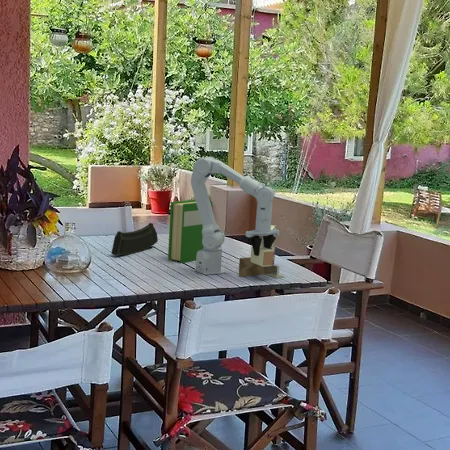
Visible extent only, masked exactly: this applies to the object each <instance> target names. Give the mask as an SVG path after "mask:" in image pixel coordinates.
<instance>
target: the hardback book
mask: <svg viewBox="0 0 450 450" xmlns="http://www.w3.org/2000/svg"><path fill="white" fill-rule="evenodd" d="M210 203H211V207H212V208H213V201H212V200H210ZM169 211H170V213H169V228H168V229H169V231H168V232H169V233H168V234H169V235H168V253H167V261H169V262H170V261H179V263H180V264H185V263H190V262H196V255H197V252H198V251H200V250H203V248H204V246H203V244H202V239H203V235H202V229H203V225H202V222H201V218H200V215H199V211H198V207H197V204H196V200H195V199H191V200H189V199H187V200H179V201H170V209H169Z"/></svg>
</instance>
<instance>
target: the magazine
mask: <svg viewBox="0 0 450 450" xmlns="http://www.w3.org/2000/svg"><path fill="white" fill-rule="evenodd" d="M158 240H159V239H158V233H157V230H156V228H155V225H154V223H152V222H149V223H148V225H146V226H144V227H142V228H140V229H137V230H134V231H127V232H122V231H119V230H118V231H117V232H116V234H115V236H114V239H113V244H112V249H111V255H114V256H119V255H120V256H121V255H124V256H125V255H133V254H137V253H141V252H143V251H145V250H147V249H152V246H154V245H155V244H156V243H158Z"/></svg>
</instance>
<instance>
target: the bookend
mask: <svg viewBox="0 0 450 450" xmlns="http://www.w3.org/2000/svg"><path fill="white" fill-rule="evenodd" d="M264 275H267V276H269V277H272V278H274V279H283V278H286V277H285V275H281V274H280V266H279V265H276V264H274V265H273V264H272V266H266V268H265V274H264Z"/></svg>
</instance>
